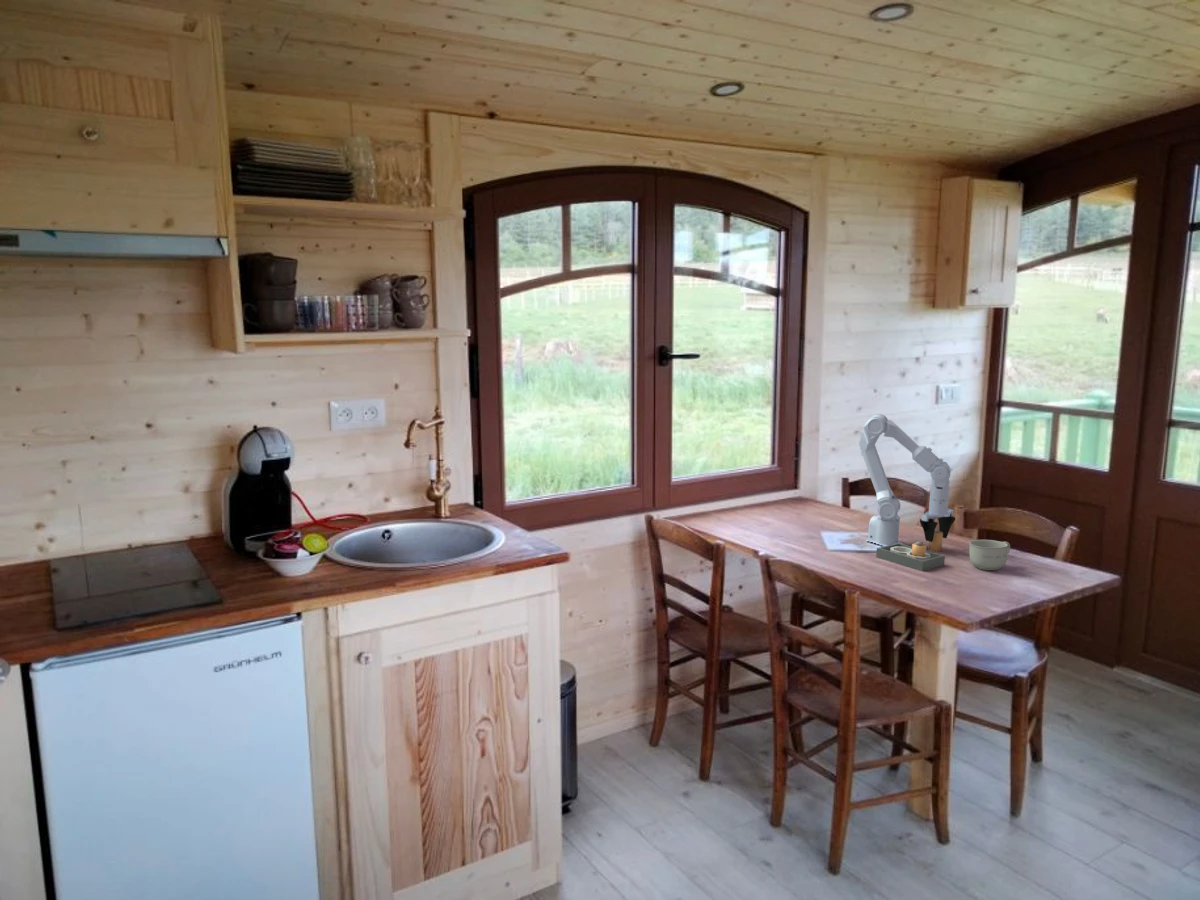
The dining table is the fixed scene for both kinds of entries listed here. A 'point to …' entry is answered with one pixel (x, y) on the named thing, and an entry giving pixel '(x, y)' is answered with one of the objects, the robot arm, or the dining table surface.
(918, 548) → the housing
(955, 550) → the dining table surface
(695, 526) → the dining table surface
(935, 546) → the orange battery
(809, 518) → the dining table surface
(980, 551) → the teacup
